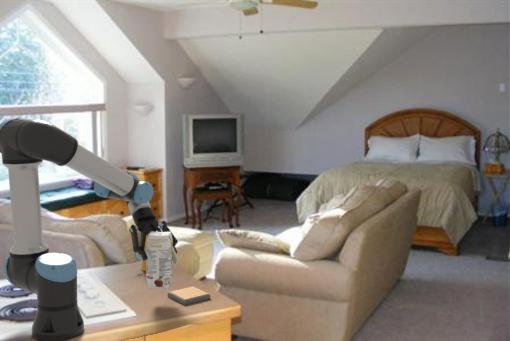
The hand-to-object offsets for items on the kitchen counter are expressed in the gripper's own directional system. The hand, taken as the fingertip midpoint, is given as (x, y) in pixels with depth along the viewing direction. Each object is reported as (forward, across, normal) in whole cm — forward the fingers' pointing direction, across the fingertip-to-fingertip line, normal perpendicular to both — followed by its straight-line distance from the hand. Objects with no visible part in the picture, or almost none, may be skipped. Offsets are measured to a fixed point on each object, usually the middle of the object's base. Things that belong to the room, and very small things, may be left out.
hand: (164, 265), depth 204 cm
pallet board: (+9, -11, -11) cm, 18 cm away
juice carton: (+4, 0, -8) cm, 9 cm away
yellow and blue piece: (-18, -17, -38) cm, 46 cm away
